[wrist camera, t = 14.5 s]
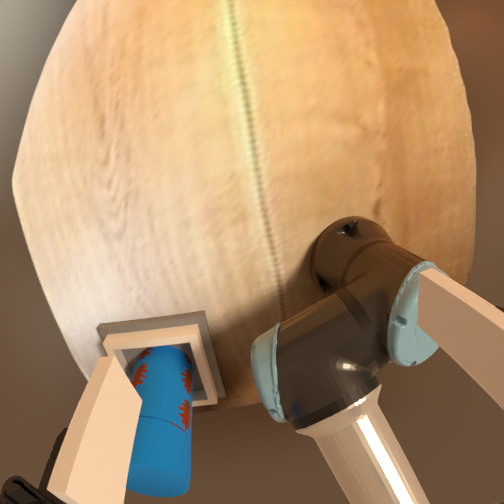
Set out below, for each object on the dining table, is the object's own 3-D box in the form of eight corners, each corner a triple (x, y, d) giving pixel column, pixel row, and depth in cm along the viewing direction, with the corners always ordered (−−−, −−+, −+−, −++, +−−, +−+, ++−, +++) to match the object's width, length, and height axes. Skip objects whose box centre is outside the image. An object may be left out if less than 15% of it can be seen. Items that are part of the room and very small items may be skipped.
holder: (204, 310, 48) (203, 324, 44) (225, 392, 54) (226, 407, 50) (100, 323, 46) (92, 336, 42) (135, 399, 53) (132, 414, 48)
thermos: (204, 377, 51) (206, 493, 27) (158, 392, 51) (143, 499, 27) (174, 335, 47) (155, 458, 23) (126, 354, 47) (90, 464, 24)
